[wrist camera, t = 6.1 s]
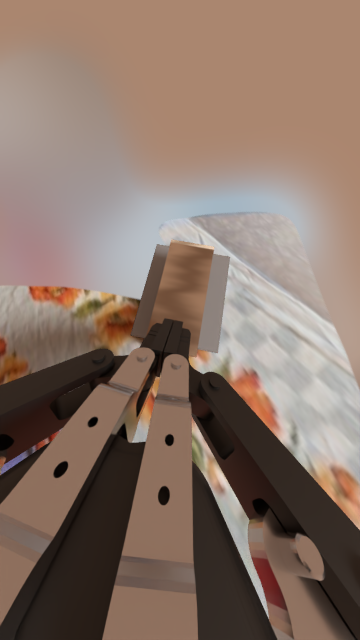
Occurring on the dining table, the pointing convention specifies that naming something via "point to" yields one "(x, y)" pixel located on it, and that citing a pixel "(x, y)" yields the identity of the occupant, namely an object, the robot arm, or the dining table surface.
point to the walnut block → (184, 288)
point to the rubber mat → (212, 303)
